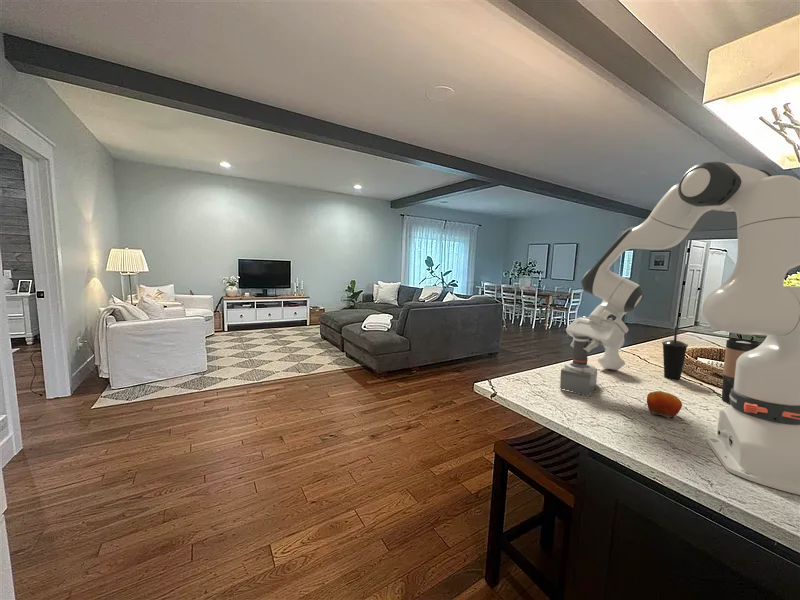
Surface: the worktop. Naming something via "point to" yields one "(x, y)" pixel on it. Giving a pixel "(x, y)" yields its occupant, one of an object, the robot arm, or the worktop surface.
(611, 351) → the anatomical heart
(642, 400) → the worktop surface
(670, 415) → the fruit
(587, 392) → the grey block with hole
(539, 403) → the worktop surface
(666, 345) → the drinking cup
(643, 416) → the worktop surface
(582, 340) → the lens
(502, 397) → the worktop surface
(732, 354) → the travel mug
